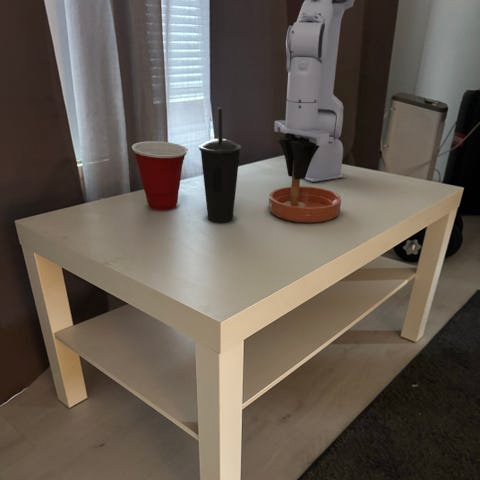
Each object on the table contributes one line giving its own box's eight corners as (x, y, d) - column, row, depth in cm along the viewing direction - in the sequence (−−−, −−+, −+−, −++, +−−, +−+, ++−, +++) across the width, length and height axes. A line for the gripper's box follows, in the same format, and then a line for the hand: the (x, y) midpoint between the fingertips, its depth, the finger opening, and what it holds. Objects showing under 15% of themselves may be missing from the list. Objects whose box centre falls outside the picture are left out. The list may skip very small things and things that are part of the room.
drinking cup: (247, 221, 93) (251, 109, 83) (214, 228, 89) (213, 113, 79) (225, 209, 99) (226, 103, 88) (193, 216, 95) (189, 106, 84)
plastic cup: (181, 217, 94) (178, 154, 88) (129, 212, 96) (122, 150, 90) (196, 200, 104) (194, 141, 97) (148, 196, 105) (143, 138, 99)
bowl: (311, 197, 107) (312, 183, 105) (353, 217, 96) (355, 201, 94) (255, 206, 100) (256, 191, 99) (294, 229, 90) (296, 212, 88)
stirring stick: (296, 204, 99) (300, 157, 94) (309, 210, 96) (313, 162, 91) (278, 207, 98) (281, 159, 93) (290, 214, 94) (294, 164, 89)
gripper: (262, 96, 90) (259, 170, 97) (308, 107, 79) (301, 189, 86) (293, 95, 93) (288, 166, 100) (342, 105, 82) (332, 184, 89)
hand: (296, 177), depth 94 cm, fingers closed on stirring stick
